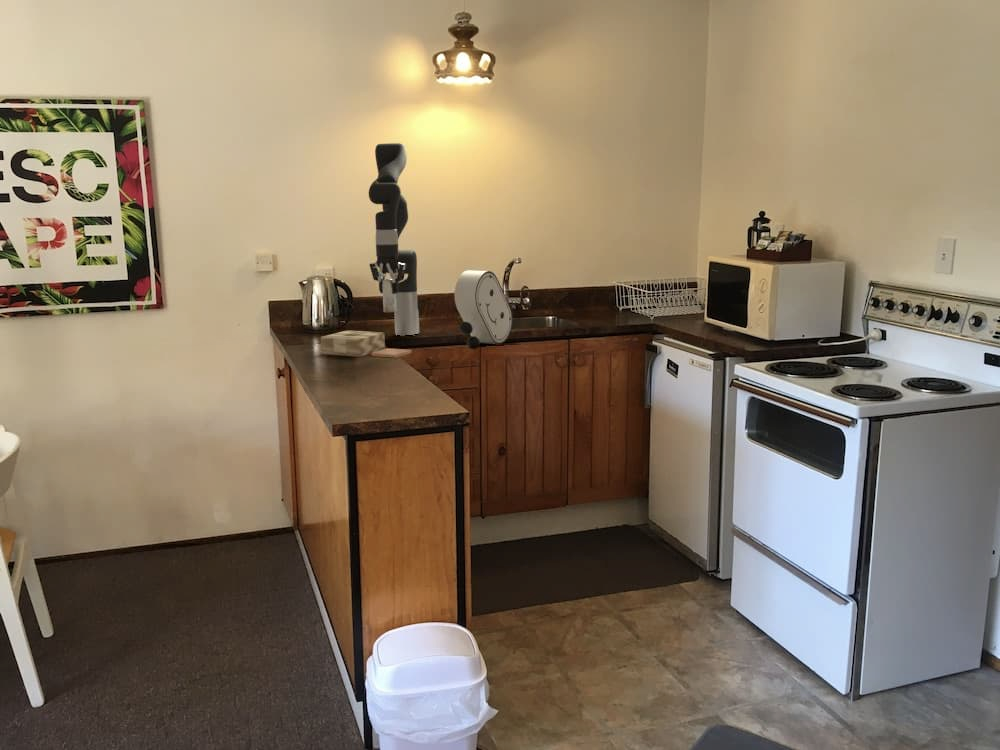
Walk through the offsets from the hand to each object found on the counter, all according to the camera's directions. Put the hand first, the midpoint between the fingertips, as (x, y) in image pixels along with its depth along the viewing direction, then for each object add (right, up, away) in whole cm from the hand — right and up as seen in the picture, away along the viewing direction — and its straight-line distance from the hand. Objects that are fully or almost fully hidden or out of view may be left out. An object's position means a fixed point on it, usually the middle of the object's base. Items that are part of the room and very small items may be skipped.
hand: (389, 293), depth 297 cm
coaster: (0, -21, +4) cm, 21 cm away
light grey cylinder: (0, -6, +1) cm, 6 cm away
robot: (+32, -18, +19) cm, 41 cm away
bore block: (-14, -20, +11) cm, 27 cm away
